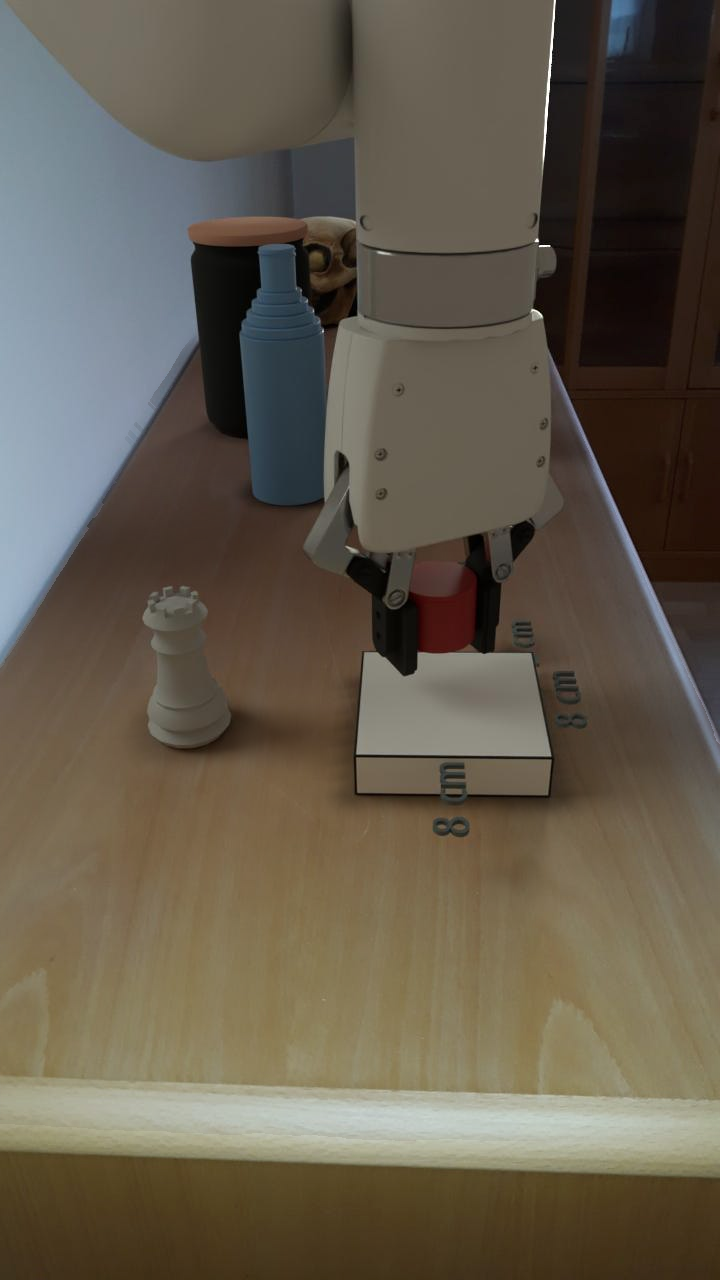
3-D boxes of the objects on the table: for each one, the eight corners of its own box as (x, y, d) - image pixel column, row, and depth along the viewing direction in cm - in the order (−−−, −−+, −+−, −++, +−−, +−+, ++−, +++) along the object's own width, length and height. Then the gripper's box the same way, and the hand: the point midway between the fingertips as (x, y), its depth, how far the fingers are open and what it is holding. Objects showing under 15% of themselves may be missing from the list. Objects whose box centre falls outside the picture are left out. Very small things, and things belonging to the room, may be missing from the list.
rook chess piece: (131, 735, 53) (108, 605, 49) (188, 695, 56) (170, 569, 52) (193, 762, 51) (175, 628, 46) (248, 719, 54) (236, 590, 50)
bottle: (245, 504, 79) (223, 254, 69) (261, 474, 85) (243, 239, 75) (323, 506, 78) (312, 254, 69) (335, 476, 84) (326, 239, 74)
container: (366, 637, 61) (365, 599, 59) (552, 638, 60) (556, 600, 59) (348, 873, 44) (346, 828, 42) (609, 878, 43) (616, 832, 42)
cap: (418, 661, 48) (419, 604, 47) (385, 625, 51) (384, 570, 50) (489, 643, 50) (491, 586, 48) (452, 609, 53) (453, 554, 51)
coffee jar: (274, 398, 103) (262, 212, 94) (338, 422, 96) (332, 224, 86) (186, 421, 97) (164, 226, 88) (248, 449, 90) (231, 239, 81)
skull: (258, 329, 127) (256, 217, 122) (275, 313, 143) (273, 213, 137) (379, 333, 127) (382, 220, 121) (382, 316, 142) (385, 216, 137)
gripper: (557, 253, 48) (530, 587, 57) (229, 290, 42) (260, 656, 51) (660, 280, 42) (610, 647, 51) (296, 328, 36) (316, 733, 45)
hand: (435, 648), depth 51 cm, fingers closed on cap, 3 cm apart
